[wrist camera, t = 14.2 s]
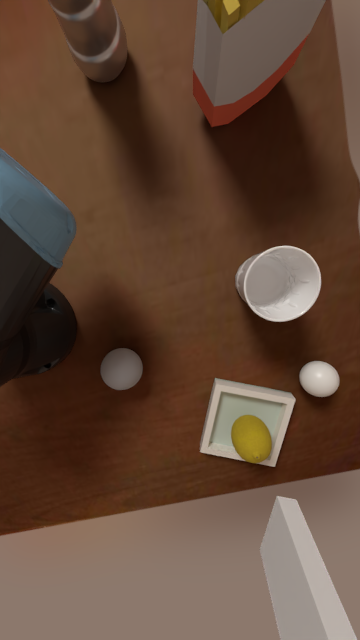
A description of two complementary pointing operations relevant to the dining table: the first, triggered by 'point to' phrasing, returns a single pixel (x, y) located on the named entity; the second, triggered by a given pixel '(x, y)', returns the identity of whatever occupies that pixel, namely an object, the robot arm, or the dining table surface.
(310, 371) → the white plastic ball
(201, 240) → the dining table surface
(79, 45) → the plastic bottle
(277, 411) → the square dish
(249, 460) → the lemon
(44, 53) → the dining table surface
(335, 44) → the dining table surface
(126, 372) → the grey rubber ball
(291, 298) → the white cup
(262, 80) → the french fries container
